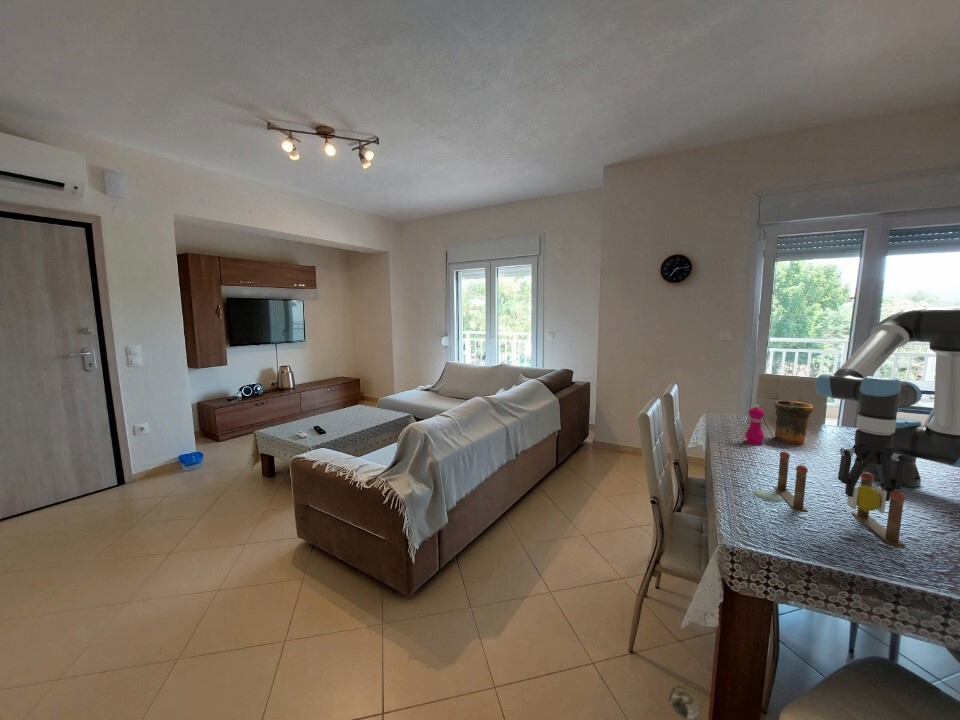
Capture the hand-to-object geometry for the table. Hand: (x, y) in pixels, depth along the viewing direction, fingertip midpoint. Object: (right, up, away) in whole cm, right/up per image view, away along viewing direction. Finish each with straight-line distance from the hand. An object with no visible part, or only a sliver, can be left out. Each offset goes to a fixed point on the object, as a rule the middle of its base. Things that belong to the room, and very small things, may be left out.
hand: (865, 508), depth 108 cm
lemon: (0, -1, 0) cm, 1 cm away
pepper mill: (+20, +2, +71) cm, 74 cm away
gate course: (-2, -5, +9) cm, 10 cm away
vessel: (+39, +2, +73) cm, 83 cm away
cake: (-38, -82, +26) cm, 94 cm away
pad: (-13, -4, +19) cm, 24 cm away
